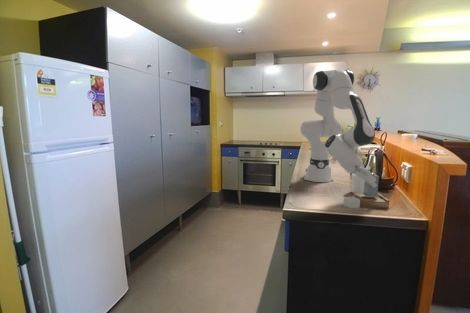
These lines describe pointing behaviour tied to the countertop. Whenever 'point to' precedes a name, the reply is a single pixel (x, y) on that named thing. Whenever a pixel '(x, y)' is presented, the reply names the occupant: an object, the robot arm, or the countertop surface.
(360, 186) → the white cup
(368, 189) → the housing
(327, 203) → the countertop surface
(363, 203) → the stand
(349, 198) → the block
